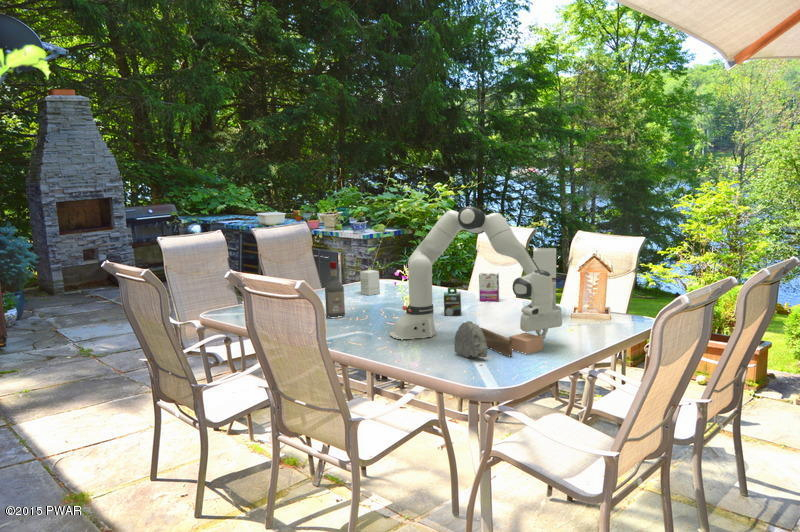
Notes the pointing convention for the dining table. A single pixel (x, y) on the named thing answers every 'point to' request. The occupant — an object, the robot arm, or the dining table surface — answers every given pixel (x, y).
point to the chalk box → (452, 303)
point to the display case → (547, 265)
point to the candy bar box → (489, 286)
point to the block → (526, 342)
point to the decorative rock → (470, 341)
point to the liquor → (334, 294)
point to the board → (498, 342)
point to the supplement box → (370, 282)
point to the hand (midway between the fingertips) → (541, 338)
